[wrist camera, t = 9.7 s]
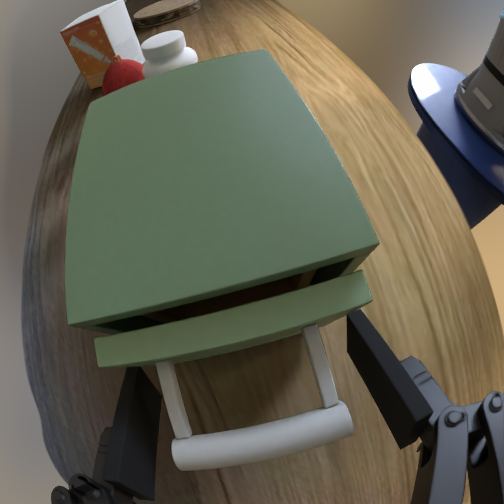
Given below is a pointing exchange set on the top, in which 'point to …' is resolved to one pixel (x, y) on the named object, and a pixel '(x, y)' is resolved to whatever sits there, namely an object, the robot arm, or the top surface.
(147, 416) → the robot arm
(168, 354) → the drawer
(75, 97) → the top surface
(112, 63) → the onion
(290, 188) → the cabinet
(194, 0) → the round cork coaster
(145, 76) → the supplement bottle
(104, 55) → the small box
